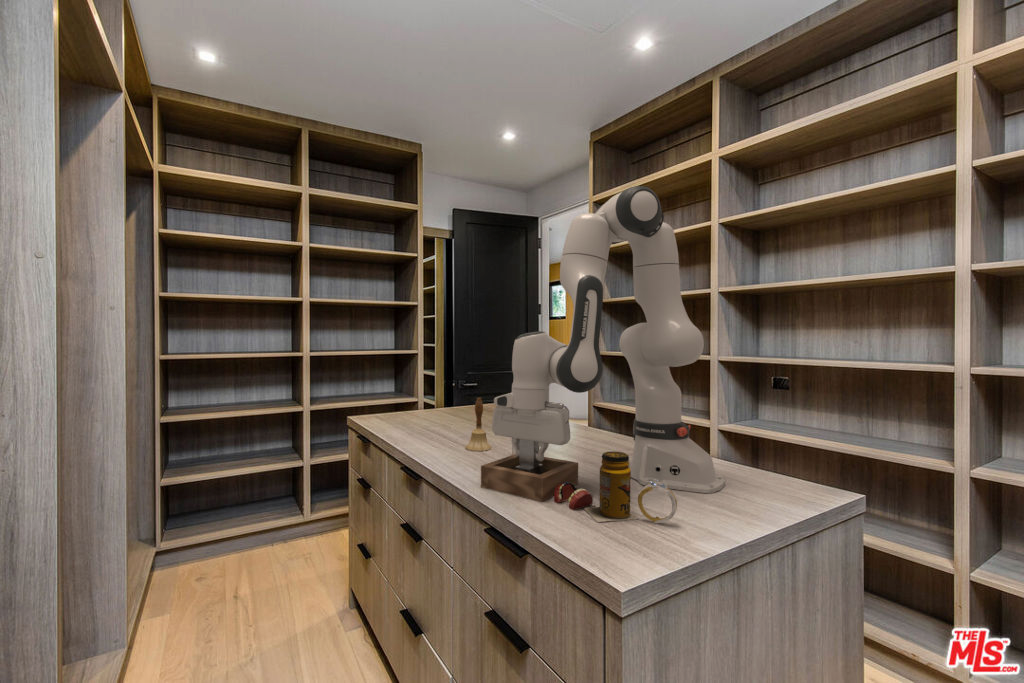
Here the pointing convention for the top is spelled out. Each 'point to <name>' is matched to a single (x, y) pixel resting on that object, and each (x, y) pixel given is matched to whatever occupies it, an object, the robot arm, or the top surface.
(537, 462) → the stepped grey peg
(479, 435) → the hand bell
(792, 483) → the top surface
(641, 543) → the top surface
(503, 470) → the open wooden box
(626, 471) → the condiment
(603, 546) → the top surface
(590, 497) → the dentures model
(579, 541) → the top surface
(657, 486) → the bracelet
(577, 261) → the robot arm
